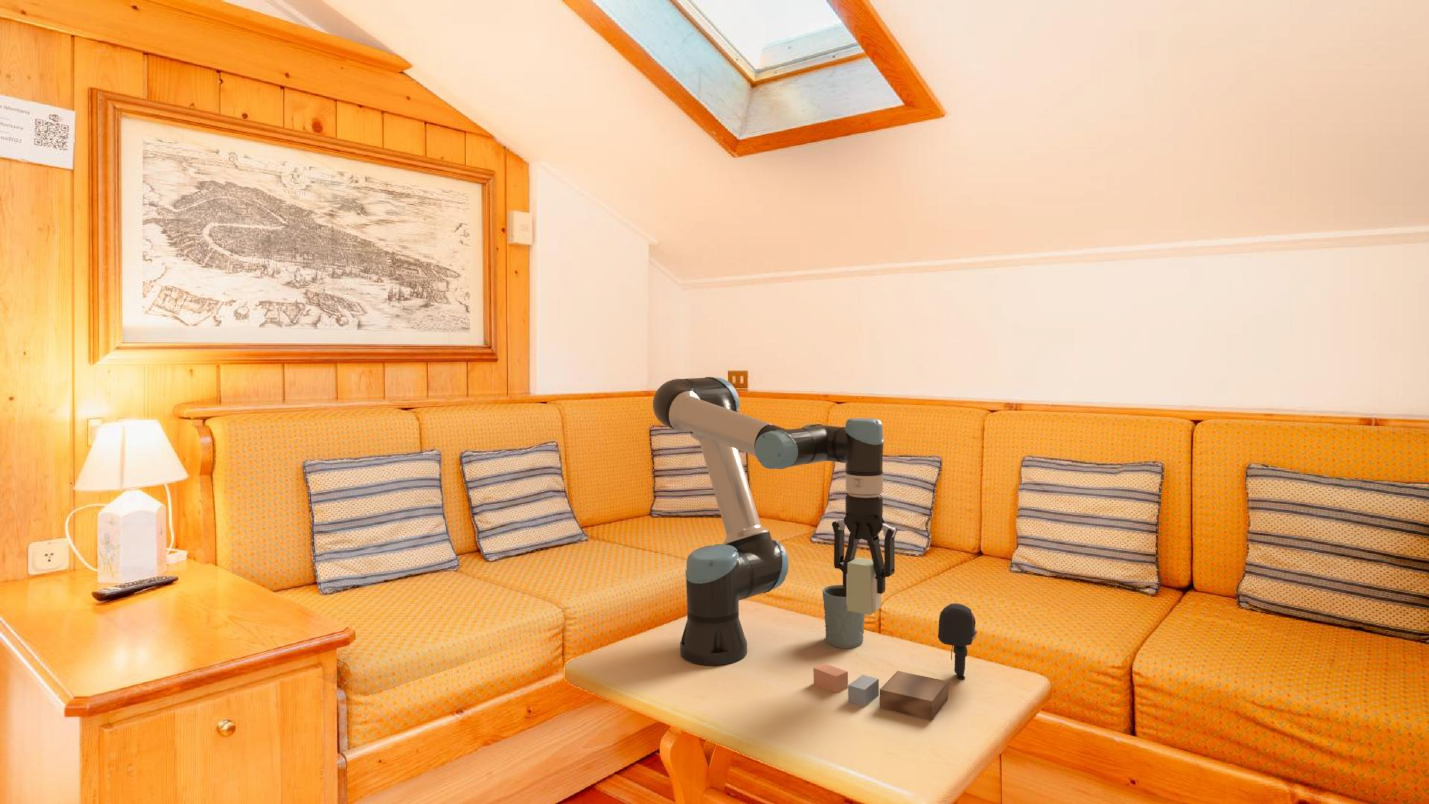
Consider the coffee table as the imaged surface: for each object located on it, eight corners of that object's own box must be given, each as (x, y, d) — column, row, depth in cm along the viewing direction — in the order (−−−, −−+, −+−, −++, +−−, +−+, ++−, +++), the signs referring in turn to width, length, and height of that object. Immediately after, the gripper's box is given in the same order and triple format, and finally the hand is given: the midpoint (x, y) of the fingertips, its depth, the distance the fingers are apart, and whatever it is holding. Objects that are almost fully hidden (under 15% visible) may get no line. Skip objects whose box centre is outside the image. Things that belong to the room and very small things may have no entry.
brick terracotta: (813, 684, 158) (813, 667, 158) (824, 679, 161) (824, 663, 160) (836, 693, 154) (836, 676, 154) (848, 688, 156) (847, 671, 156)
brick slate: (864, 707, 148) (864, 689, 147) (848, 703, 150) (848, 685, 150) (878, 696, 152) (878, 678, 152) (862, 692, 154) (862, 674, 154)
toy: (980, 686, 155) (980, 612, 155) (939, 684, 157) (939, 610, 156) (974, 668, 164) (974, 598, 163) (936, 666, 166) (936, 597, 165)
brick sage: (847, 610, 160) (847, 562, 160) (857, 603, 164) (857, 557, 164) (870, 615, 157) (870, 566, 157) (879, 608, 162) (880, 560, 161)
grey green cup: (816, 644, 180) (815, 593, 179) (833, 630, 188) (832, 581, 188) (857, 652, 175) (857, 599, 174) (873, 638, 183) (873, 587, 182)
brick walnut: (879, 710, 147) (879, 689, 147) (897, 690, 155) (897, 670, 155) (932, 722, 142) (932, 701, 141) (947, 701, 150) (947, 681, 150)
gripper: (815, 492, 161) (816, 603, 163) (899, 501, 151) (898, 619, 153) (832, 487, 167) (831, 593, 169) (913, 495, 157) (912, 608, 159)
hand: (863, 605), depth 161 cm, fingers closed on brick sage, 5 cm apart
